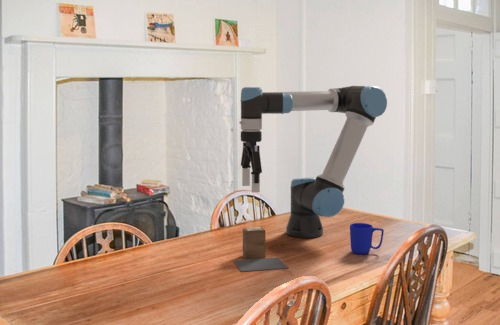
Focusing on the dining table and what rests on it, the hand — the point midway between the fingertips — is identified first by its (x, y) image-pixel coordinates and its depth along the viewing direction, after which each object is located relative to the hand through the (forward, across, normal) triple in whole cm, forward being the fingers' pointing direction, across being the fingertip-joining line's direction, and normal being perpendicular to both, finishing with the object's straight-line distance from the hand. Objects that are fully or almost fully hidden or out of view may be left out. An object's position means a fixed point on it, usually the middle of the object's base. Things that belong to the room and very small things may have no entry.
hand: (250, 189), depth 209 cm
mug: (+23, +13, +40) cm, 48 cm away
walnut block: (+23, +8, -1) cm, 24 cm away
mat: (+23, +18, -1) cm, 29 cm away
